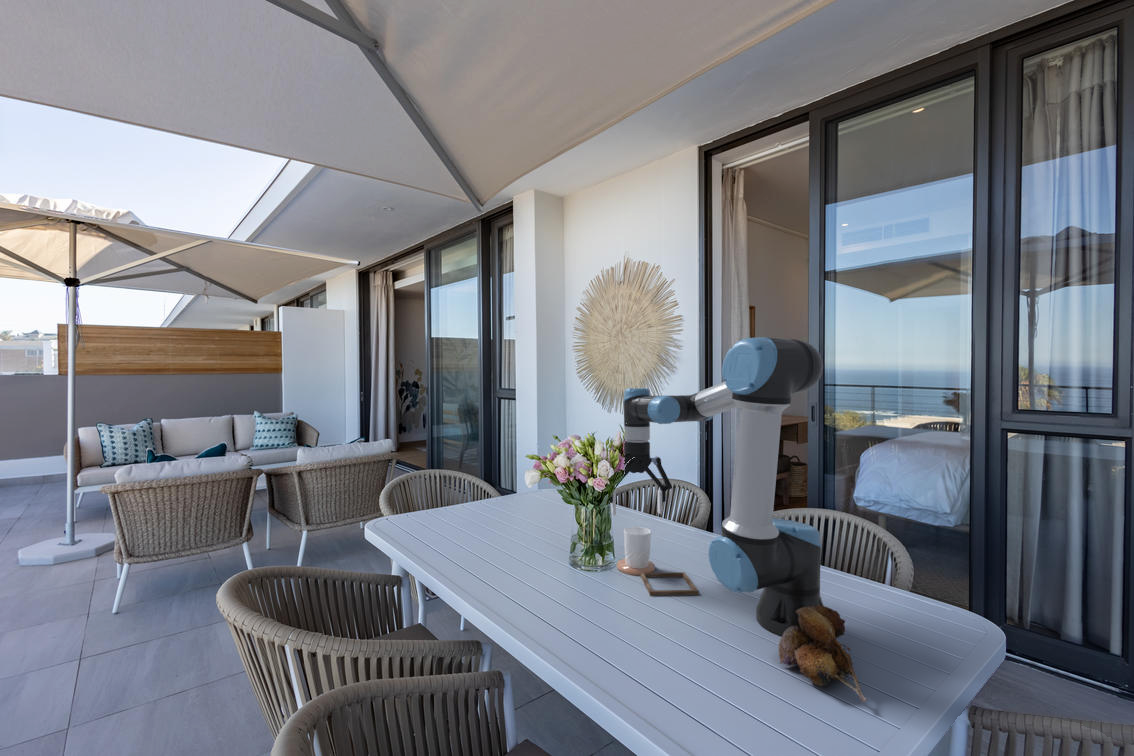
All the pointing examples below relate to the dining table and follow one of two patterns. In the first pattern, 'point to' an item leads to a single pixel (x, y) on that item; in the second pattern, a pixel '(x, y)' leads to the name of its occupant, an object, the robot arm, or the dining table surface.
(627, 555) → the white cup
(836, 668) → the seed pod
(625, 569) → the peach flat disc
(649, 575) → the walnut tray frame
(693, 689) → the dining table surface
